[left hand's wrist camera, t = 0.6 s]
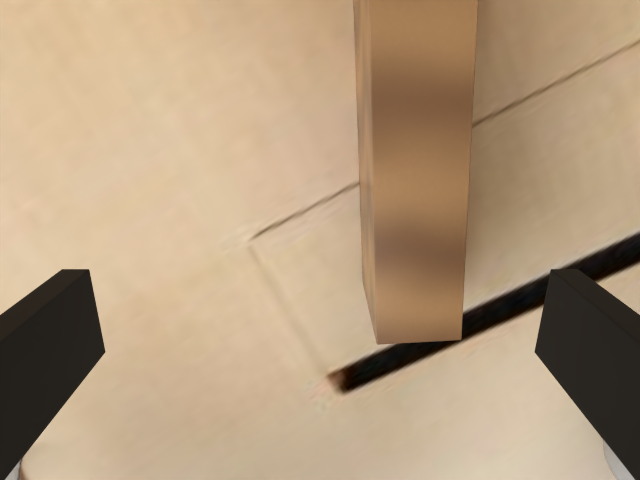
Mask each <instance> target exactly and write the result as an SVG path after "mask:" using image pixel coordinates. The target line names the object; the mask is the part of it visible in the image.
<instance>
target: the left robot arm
mask: <svg viewBox="0 0 640 480" xmlns="http://www.w3.org/2000/svg"><path fill="white" fill-rule="evenodd" d="M104 353H105V348H104V343H103V338H102V333H101V327H100V322H99V317H98V312H97V307H96V302H95V297H94V292H93V287H92V282H91V277H90V271H89V269H62V270H61V271H59V272H58V273H57V274H55V275H54V276H53V277H51V278H50V279H48V280H47V281H46V282H44V283H43V284H42V285H40V286H39V287H38V288H36V289H35V290H34V291H32V292H31V293H30V294H28V295H27V296H25V297H24V298H23V299H21V300H20V301H19V302H17V303H16V304H15V305H13V306H12V307H11V308H9V309H8V310H7V311H5V312H4V313H2V314H1V315H0V480H5V479H6V478H7V477H8V475H9V474H10V473H11V471H12V470H13V469H14V468H15V466H16V465H17V464H18V463H19V461H20V460H21V459H22V457H23V456H24V455H25V454H26V452H27V451H28V450H29V449H30V447H31V446H32V445H33V443H34V442H35V441H36V440H37V438H38V437H39V436H40V435H41V433H42V432H43V431H44V429H45V428H46V427H47V426H48V424H49V423H50V422H51V421H52V419H53V418H54V417H55V415H56V414H57V413H58V412H59V410H60V409H61V408H62V407H63V405H64V404H65V403H66V401H67V400H68V399H69V398H70V396H71V395H72V394H73V393H74V391H75V390H76V389H77V387H78V386H79V385H80V384H81V382H82V381H83V380H84V379H85V377H86V376H87V375H88V373H89V372H90V371H91V370H92V368H93V367H94V366H95V365H96V363H97V362H98V361H99V359H100V358H101V357H102V356H103V354H104ZM535 353H536V354H537V356H538V357H539V358H540V359H541V361H542V362H543V363H544V365H545V366H546V367H547V368H548V370H549V371H550V372H551V373H552V375H553V376H554V377H555V379H556V380H557V381H558V382H559V384H560V385H561V386H562V387H563V389H564V390H565V391H566V393H567V394H568V395H569V396H570V398H571V399H572V400H573V401H574V403H575V404H576V405H577V407H578V408H579V409H580V410H581V412H582V413H583V414H584V415H585V417H586V418H587V419H588V421H589V422H590V423H591V424H592V426H593V427H594V428H595V429H596V431H597V432H598V433H599V435H600V436H601V437H602V438H603V440H604V441H605V442H606V443H607V445H608V446H609V447H610V449H611V450H612V451H613V452H614V454H615V455H616V456H617V457H618V459H619V460H620V461H621V463H622V464H623V465H624V466H625V468H626V469H627V470H628V471H629V473H630V474H631V475H632V477H633V478H634V479H635V480H640V315H639V314H638V313H636V312H635V311H633V310H632V309H631V308H629V307H628V306H627V305H625V304H624V303H623V302H621V301H620V300H619V299H617V298H616V297H615V296H613V295H612V294H610V293H609V292H608V291H606V290H605V289H604V288H602V287H601V286H600V285H598V284H597V283H596V282H594V281H593V280H592V279H590V278H589V277H587V276H586V275H585V274H583V273H582V272H581V271H579V270H578V269H551V271H550V277H549V282H548V287H547V292H546V297H545V302H544V307H543V312H542V317H541V322H540V327H539V333H538V338H537V343H536V348H535Z"/></svg>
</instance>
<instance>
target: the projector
mask: <svg viewBox="0 0 640 480" xmlns="http://www.w3.org/2000/svg"><path fill="white" fill-rule="evenodd" d="M603 447H604V454H605V458H606V461H607V463H608V465H609V467H610V469H611V471H612V472H613V474H614V476H615V477H616V479H617V480H635V479H634V478H633V477H632V475H631V474H630V473H629V471H628V470H627V469H626V468H625V466H624V465H623V464H622V463H621V461H620V460H619V459H618V457H617V456H616V455H615V454H614V452H613V451H612V450H611V449H610V447H609V446H608V445H607V443H606V442H605V441H604V440H603Z"/></svg>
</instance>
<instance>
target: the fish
mask: <svg viewBox="0 0 640 480" xmlns="http://www.w3.org/2000/svg"><path fill="white" fill-rule="evenodd" d="M21 460H22V459H21ZM21 460H20V461H19V463H18V464H17V465H16V466H15V468H14V469H13V470H12V471H11V473H10V474H9V475H8V477H7V478H6V479H5V480H19V467H20V464H21Z"/></svg>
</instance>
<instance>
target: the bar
mask: <svg viewBox="0 0 640 480" xmlns="http://www.w3.org/2000/svg"><path fill="white" fill-rule="evenodd" d="M477 13H478V0H354V30H355V60H356V91H357V121H358V151H359V181H360V211H361V241H362V271H363V285H364V290H365V294H366V298H367V303H368V307H369V312H370V316H371V320H372V325H373V329H374V334H375V338H376V342H377V344H394V343H412V342H430V341H447V340H461V333H462V313H463V293H464V273H465V253H466V233H467V213H468V193H469V173H470V153H471V133H472V113H473V93H474V73H475V53H476V33H477Z"/></svg>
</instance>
